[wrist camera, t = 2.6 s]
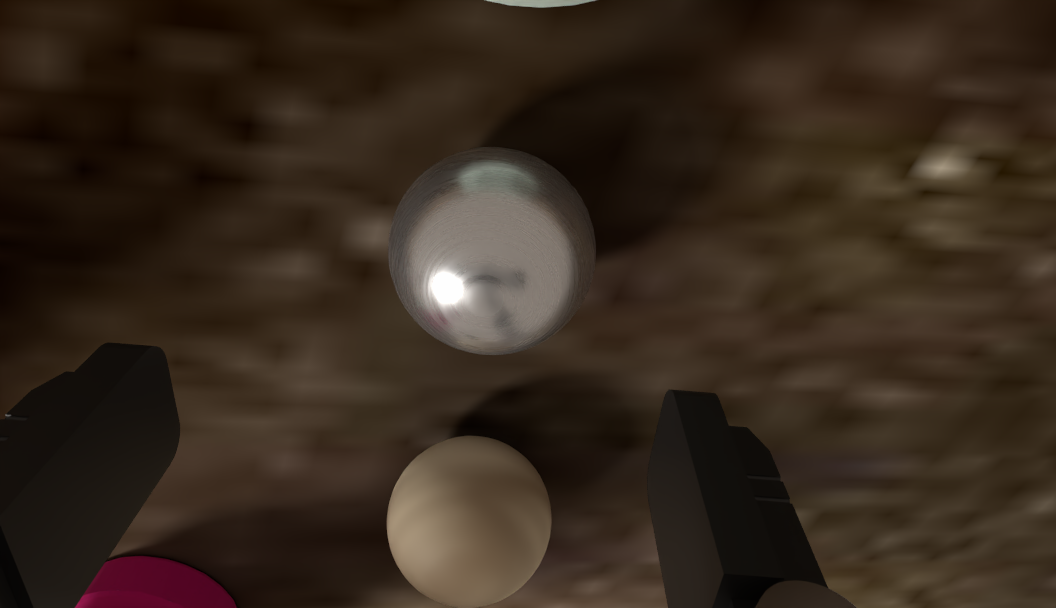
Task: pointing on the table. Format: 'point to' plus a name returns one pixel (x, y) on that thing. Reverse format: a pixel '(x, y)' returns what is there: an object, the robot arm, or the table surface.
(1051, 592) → the table surface
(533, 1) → the ring cup
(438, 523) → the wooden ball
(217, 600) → the pepper mill
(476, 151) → the steel ball
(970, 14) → the table surface
